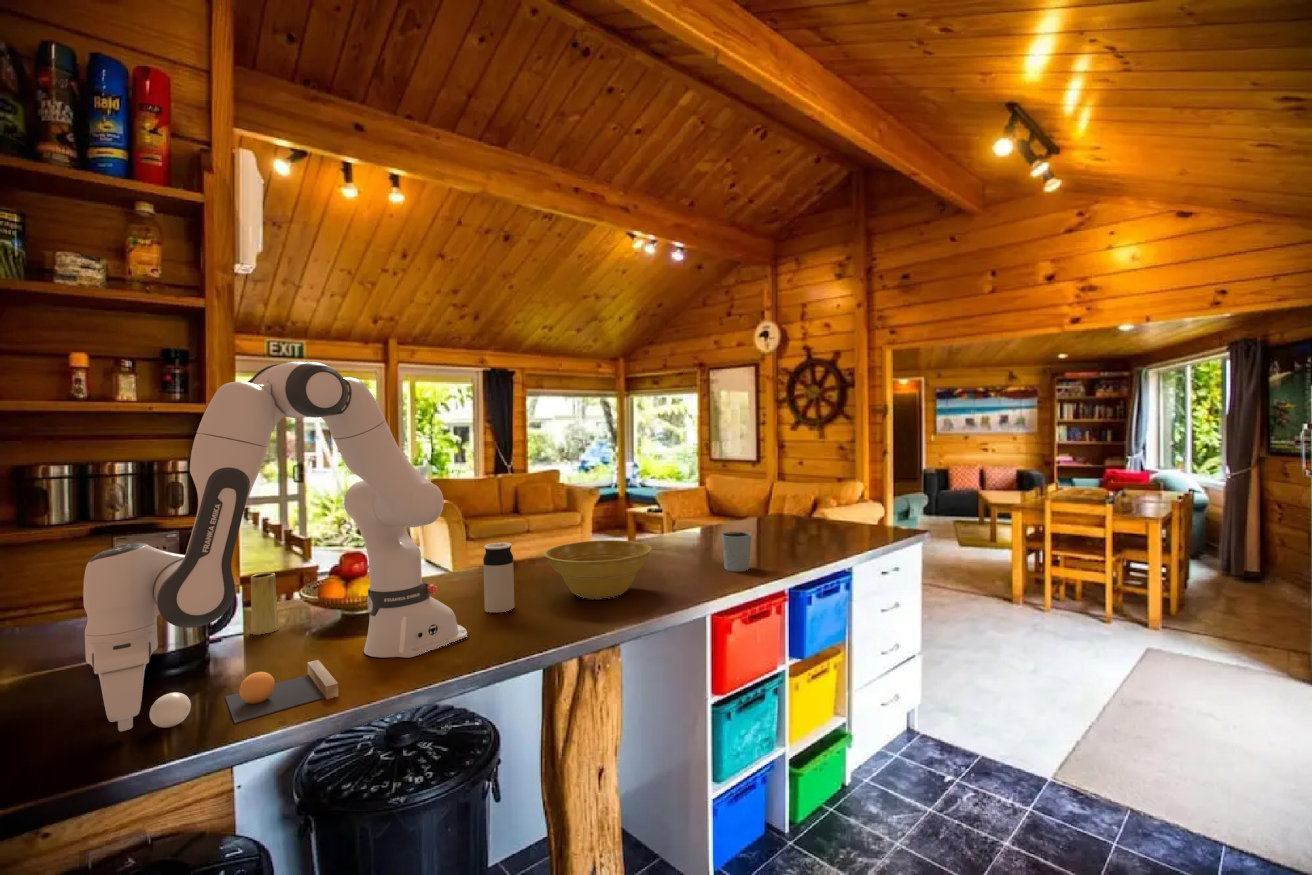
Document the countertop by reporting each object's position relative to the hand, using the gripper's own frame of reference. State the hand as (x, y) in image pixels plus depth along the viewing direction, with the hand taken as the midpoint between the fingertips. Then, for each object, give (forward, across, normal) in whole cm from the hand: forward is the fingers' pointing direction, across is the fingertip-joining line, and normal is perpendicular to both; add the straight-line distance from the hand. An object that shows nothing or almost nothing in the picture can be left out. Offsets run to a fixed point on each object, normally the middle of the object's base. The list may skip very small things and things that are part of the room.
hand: (125, 727), depth 98 cm
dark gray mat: (+2, 0, +21) cm, 21 cm away
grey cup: (+2, -4, +158) cm, 158 cm away
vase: (+2, -47, +26) cm, 54 cm away
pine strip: (+2, 0, +29) cm, 29 cm away
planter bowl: (+2, -13, +106) cm, 107 cm away
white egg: (-1, 0, +6) cm, 6 cm away
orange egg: (-1, 0, +18) cm, 18 cm away
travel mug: (+2, -20, +77) cm, 80 cm away
